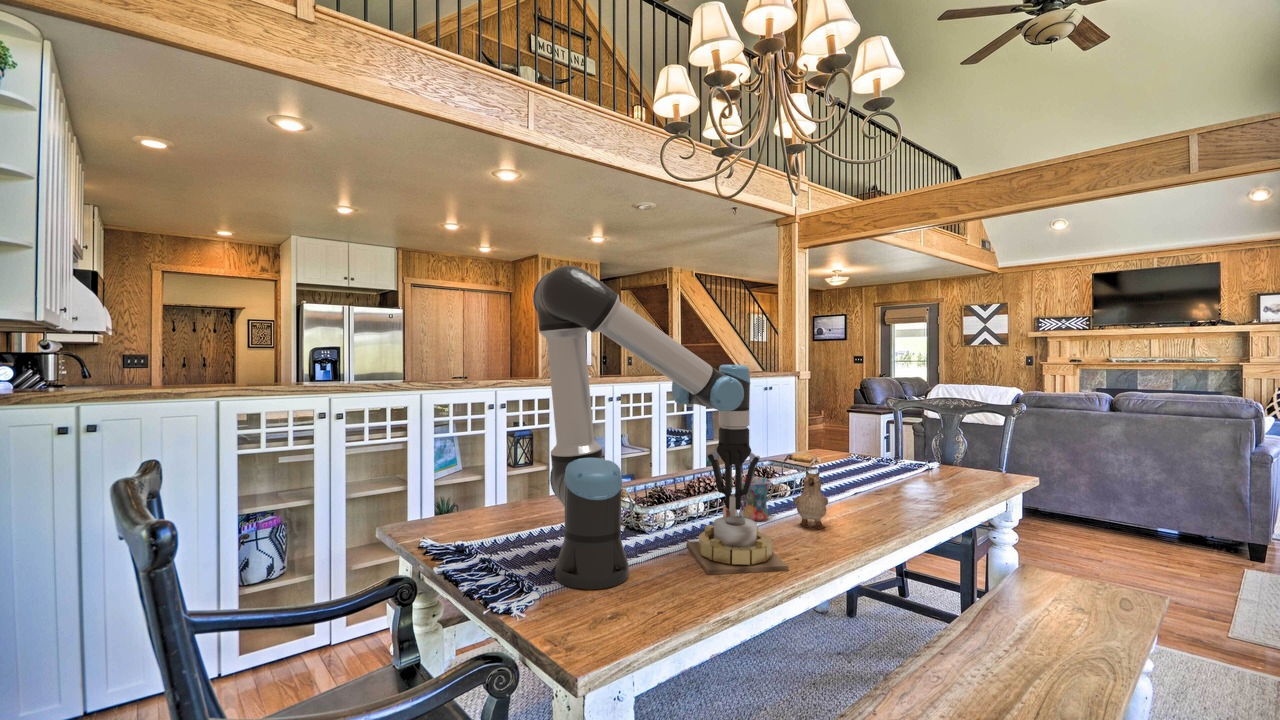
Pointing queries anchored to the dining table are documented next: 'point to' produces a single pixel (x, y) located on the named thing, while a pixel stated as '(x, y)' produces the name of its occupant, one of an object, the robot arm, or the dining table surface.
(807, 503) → the figurine
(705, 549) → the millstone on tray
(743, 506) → the mug
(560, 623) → the dining table surface
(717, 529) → the housing
